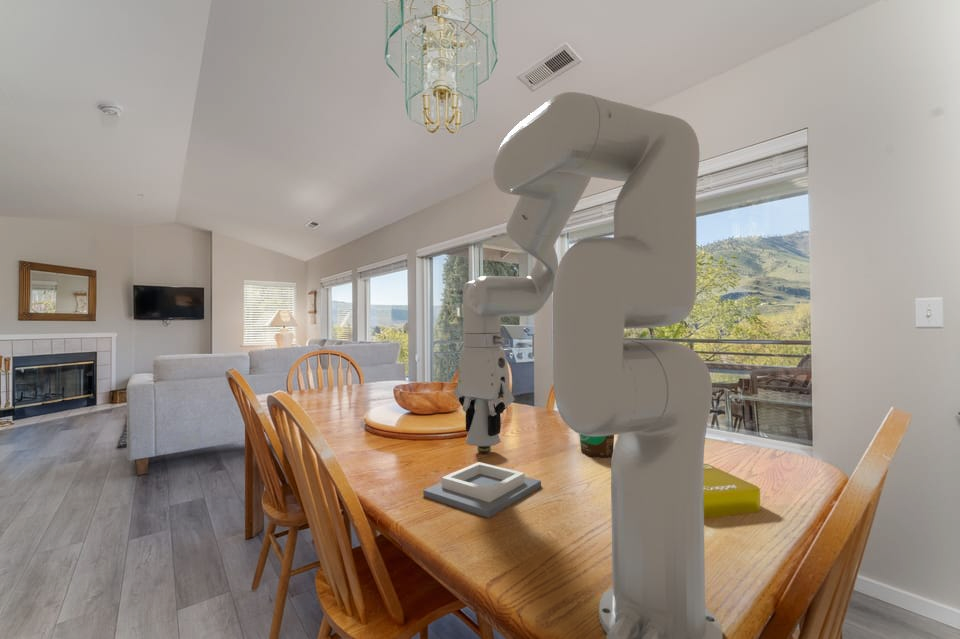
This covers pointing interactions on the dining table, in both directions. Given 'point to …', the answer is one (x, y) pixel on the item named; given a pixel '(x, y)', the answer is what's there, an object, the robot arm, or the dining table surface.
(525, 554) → the dining table surface
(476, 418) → the flask
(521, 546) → the dining table surface
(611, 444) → the food container
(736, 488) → the element tile
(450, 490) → the collar board
